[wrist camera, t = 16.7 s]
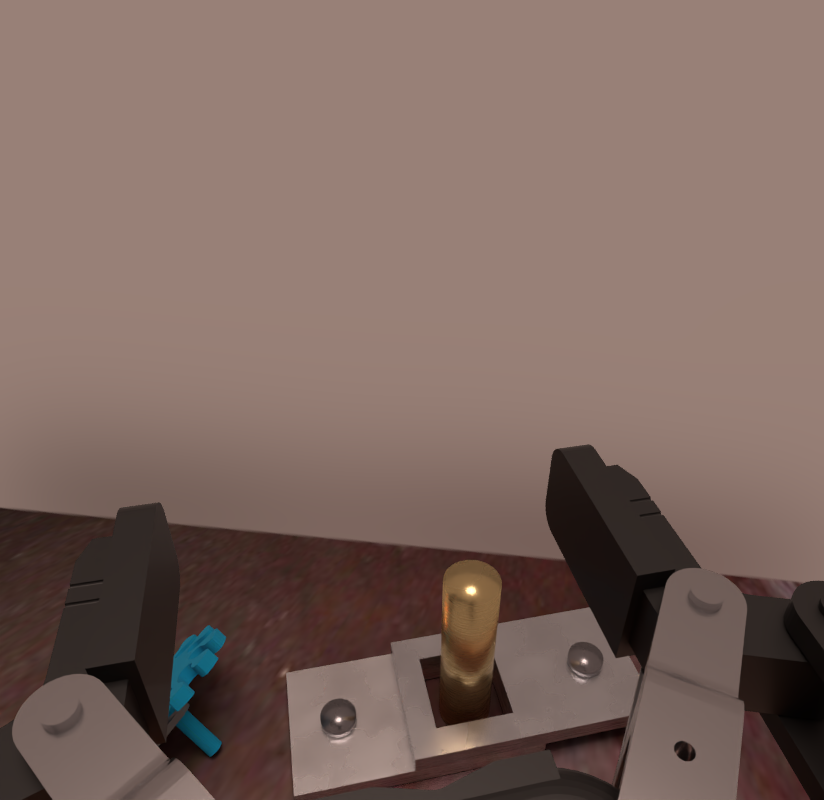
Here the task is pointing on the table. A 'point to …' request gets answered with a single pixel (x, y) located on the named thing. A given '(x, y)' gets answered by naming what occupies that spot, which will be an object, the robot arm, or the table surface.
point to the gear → (186, 665)
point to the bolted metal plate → (461, 743)
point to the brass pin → (468, 640)
